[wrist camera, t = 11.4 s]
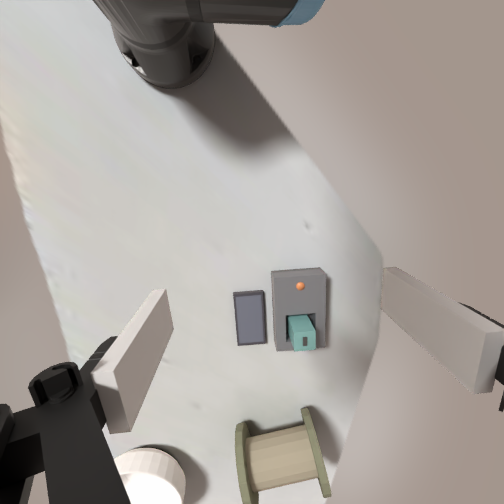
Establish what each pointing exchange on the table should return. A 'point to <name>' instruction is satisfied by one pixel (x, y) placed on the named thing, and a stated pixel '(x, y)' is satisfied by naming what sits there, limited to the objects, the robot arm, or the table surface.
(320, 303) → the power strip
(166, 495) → the bowl
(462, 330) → the robot arm
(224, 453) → the table surface
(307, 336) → the block
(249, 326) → the phone
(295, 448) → the spool
